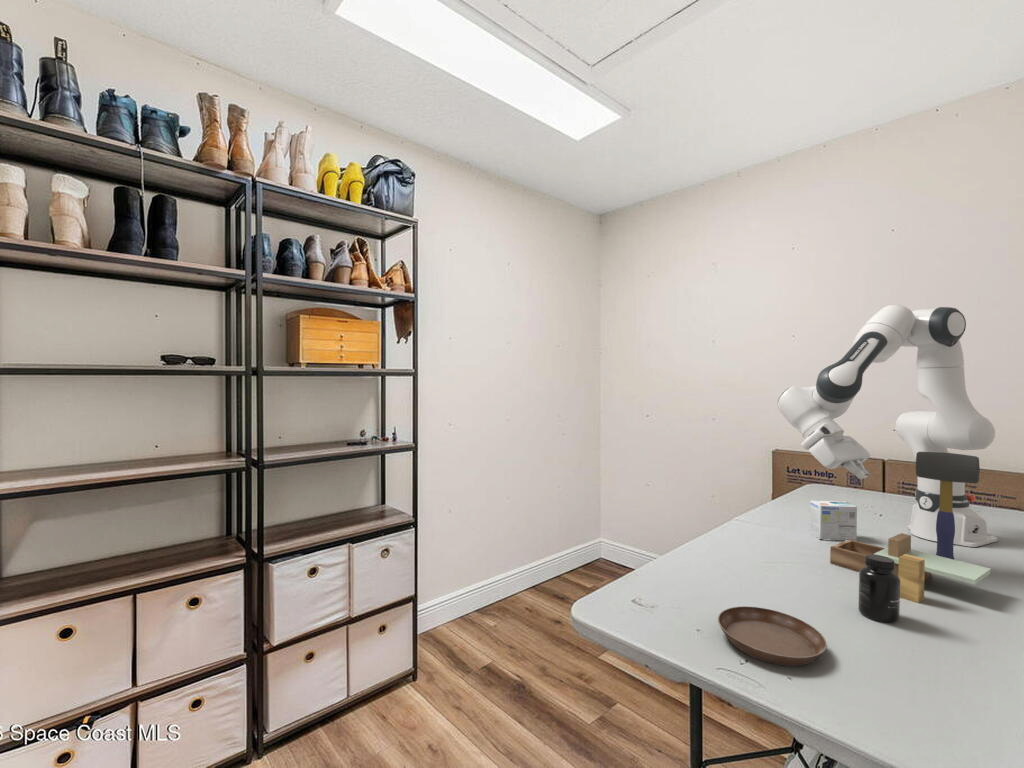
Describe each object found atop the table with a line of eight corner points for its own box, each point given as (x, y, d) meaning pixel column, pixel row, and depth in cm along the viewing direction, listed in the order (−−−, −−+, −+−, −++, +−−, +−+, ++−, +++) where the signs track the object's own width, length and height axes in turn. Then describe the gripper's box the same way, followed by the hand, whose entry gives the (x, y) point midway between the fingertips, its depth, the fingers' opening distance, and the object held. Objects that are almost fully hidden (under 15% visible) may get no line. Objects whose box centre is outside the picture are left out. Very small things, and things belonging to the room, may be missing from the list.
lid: (892, 548, 127) (893, 529, 127) (990, 572, 111) (991, 551, 111) (873, 557, 120) (874, 537, 120) (974, 584, 105) (975, 561, 105)
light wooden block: (904, 593, 112) (904, 553, 111) (924, 599, 109) (924, 558, 108) (898, 596, 110) (898, 557, 109) (917, 603, 107) (918, 562, 106)
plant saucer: (835, 644, 90) (836, 627, 90) (813, 687, 77) (813, 668, 77) (736, 612, 102) (736, 597, 102) (702, 645, 90) (703, 628, 90)
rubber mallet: (977, 569, 125) (979, 453, 125) (978, 578, 120) (980, 457, 120) (914, 557, 134) (916, 448, 134) (912, 565, 128) (914, 451, 128)
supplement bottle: (902, 627, 96) (902, 566, 96) (859, 618, 100) (860, 559, 100) (897, 613, 102) (898, 556, 102) (857, 605, 105) (858, 549, 105)
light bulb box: (844, 534, 153) (845, 500, 153) (857, 542, 147) (858, 506, 146) (808, 533, 154) (809, 499, 154) (820, 540, 148) (820, 505, 147)
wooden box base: (849, 555, 135) (849, 539, 135) (931, 578, 120) (931, 559, 120) (830, 563, 129) (830, 546, 129) (914, 588, 114) (914, 569, 114)
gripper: (833, 440, 143) (872, 479, 135) (797, 445, 131) (837, 488, 123) (851, 426, 139) (891, 466, 131) (815, 430, 128) (857, 474, 120)
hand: (865, 477), depth 127 cm, fingers closed
